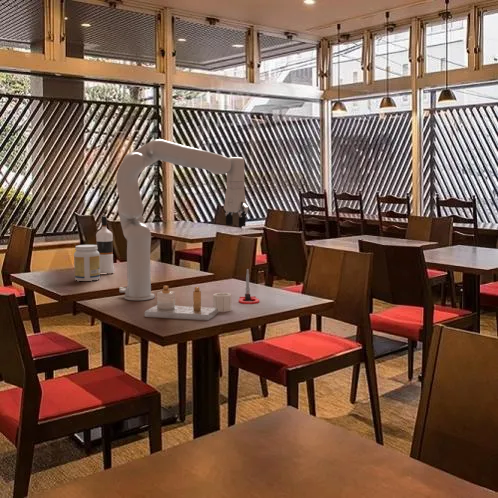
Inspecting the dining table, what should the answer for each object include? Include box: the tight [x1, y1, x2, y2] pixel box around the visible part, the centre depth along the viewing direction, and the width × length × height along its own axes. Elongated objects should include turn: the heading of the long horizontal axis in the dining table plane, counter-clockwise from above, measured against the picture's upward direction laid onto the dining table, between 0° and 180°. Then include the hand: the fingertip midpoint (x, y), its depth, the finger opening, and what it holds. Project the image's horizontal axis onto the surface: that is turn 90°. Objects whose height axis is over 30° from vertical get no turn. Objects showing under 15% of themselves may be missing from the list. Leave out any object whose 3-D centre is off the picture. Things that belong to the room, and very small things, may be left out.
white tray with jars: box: [144, 285, 219, 321], centre depth 231 cm, size 24×12×10 cm, turn 76°
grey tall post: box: [238, 268, 260, 305], centre depth 255 cm, size 8×13×9 cm
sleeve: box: [212, 292, 232, 313], centre depth 240 cm, size 7×7×6 cm
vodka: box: [95, 215, 115, 274], centre depth 327 cm, size 9×9×30 cm
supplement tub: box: [73, 244, 101, 282], centre depth 307 cm, size 12×12×17 cm
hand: (235, 225), depth 274 cm, fingers open, 9 cm apart
